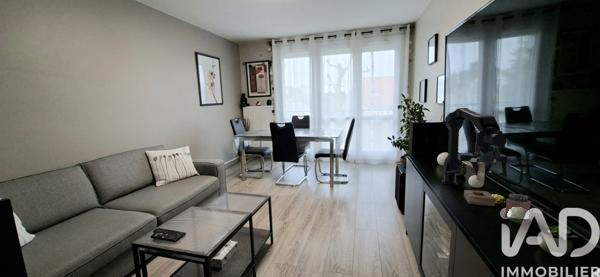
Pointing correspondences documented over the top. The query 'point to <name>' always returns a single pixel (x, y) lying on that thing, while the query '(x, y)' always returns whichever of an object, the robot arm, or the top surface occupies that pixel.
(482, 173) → the pin
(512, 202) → the lighter
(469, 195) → the bore block
